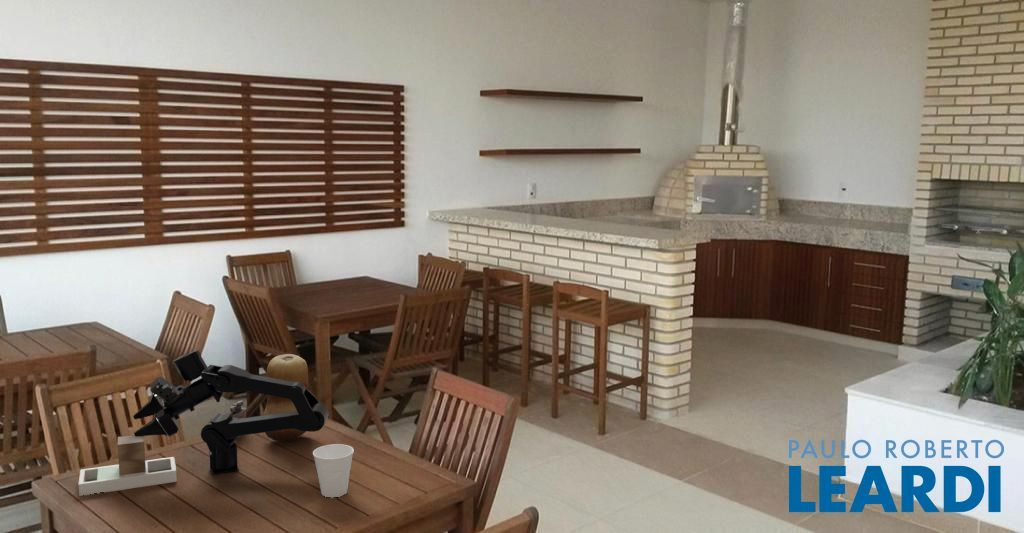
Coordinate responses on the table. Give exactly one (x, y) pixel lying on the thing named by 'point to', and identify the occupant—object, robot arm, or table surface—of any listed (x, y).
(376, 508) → the table surface
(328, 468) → the cup
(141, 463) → the walnut block
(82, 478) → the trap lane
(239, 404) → the lighter
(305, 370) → the butternut squash
